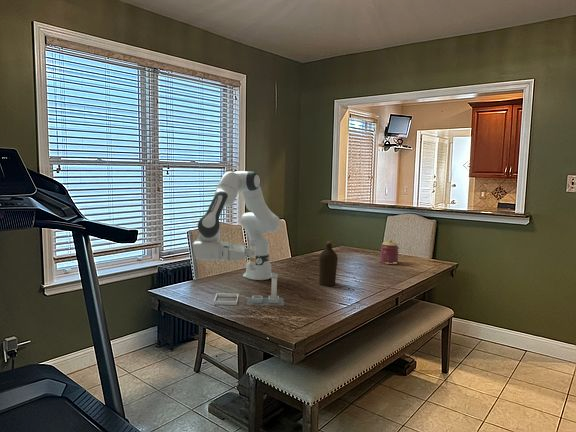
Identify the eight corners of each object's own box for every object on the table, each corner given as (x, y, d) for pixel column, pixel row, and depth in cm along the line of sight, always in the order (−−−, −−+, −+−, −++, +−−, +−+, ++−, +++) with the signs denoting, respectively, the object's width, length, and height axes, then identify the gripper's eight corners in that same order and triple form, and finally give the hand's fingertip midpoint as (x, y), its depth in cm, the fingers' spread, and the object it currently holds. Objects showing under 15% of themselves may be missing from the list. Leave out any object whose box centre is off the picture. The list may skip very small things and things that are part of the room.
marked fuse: (249, 268, 214) (250, 240, 213) (255, 268, 215) (256, 240, 213) (249, 270, 212) (250, 241, 210) (255, 270, 212) (256, 241, 210)
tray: (216, 298, 221) (216, 293, 221) (238, 298, 222) (238, 293, 221) (213, 306, 208) (213, 301, 208) (236, 306, 209) (237, 301, 209)
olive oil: (330, 287, 248) (332, 244, 246) (314, 284, 254) (316, 241, 252) (339, 284, 257) (341, 241, 254) (323, 280, 263) (325, 239, 260)
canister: (386, 260, 330) (388, 237, 328) (401, 263, 320) (403, 239, 318) (376, 262, 321) (377, 238, 319) (391, 265, 311) (392, 241, 309)
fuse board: (247, 299, 221) (247, 293, 221) (283, 299, 223) (283, 294, 222) (246, 306, 210) (246, 300, 209) (284, 307, 211) (284, 301, 210)
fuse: (270, 300, 218) (271, 272, 216) (276, 300, 218) (277, 272, 216) (270, 302, 215) (271, 274, 213) (276, 302, 215) (277, 274, 213)
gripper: (227, 253, 222) (254, 254, 223) (224, 262, 202) (254, 263, 203) (227, 241, 221) (255, 242, 222) (224, 248, 201) (255, 249, 202)
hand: (254, 252), depth 212 cm, fingers closed on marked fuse, 3 cm apart
